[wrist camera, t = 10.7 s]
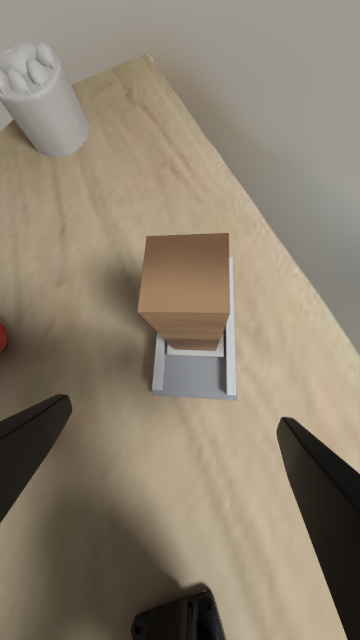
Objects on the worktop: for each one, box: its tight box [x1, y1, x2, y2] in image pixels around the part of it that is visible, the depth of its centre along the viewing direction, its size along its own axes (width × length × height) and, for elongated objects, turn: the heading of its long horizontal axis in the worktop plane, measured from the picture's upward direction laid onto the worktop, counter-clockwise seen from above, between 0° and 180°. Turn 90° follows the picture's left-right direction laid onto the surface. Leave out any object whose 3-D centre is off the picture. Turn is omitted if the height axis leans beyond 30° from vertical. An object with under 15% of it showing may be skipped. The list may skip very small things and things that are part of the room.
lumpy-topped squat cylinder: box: [0, 42, 89, 157], centre depth 31 cm, size 10×13×9 cm
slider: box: [152, 257, 237, 401], centre depth 21 cm, size 15×8×2 cm, turn 177°
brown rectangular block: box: [137, 233, 230, 358], centre depth 15 cm, size 5×5×12 cm
